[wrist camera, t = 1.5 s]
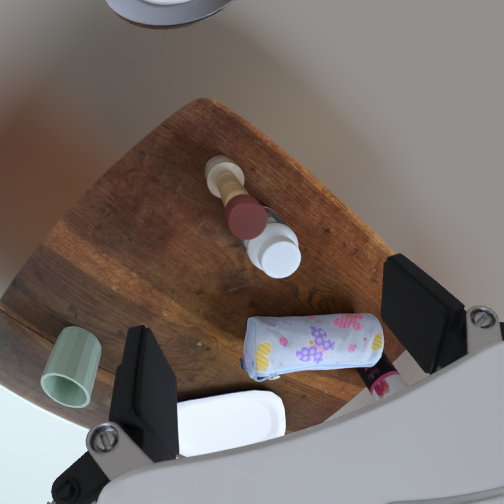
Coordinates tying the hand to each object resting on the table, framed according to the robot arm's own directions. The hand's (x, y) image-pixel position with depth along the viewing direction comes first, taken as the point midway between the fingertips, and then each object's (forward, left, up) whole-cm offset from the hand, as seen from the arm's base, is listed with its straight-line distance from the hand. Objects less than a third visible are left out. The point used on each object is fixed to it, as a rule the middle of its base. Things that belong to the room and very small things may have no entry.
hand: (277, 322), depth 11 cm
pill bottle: (+7, +4, -26) cm, 27 cm away
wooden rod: (-1, +1, -26) cm, 26 cm away
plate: (+47, -11, -26) cm, 55 cm away
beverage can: (+41, +21, -26) cm, 53 cm away
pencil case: (+25, +8, -26) cm, 37 cm away
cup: (+18, -27, -26) cm, 42 cm away
